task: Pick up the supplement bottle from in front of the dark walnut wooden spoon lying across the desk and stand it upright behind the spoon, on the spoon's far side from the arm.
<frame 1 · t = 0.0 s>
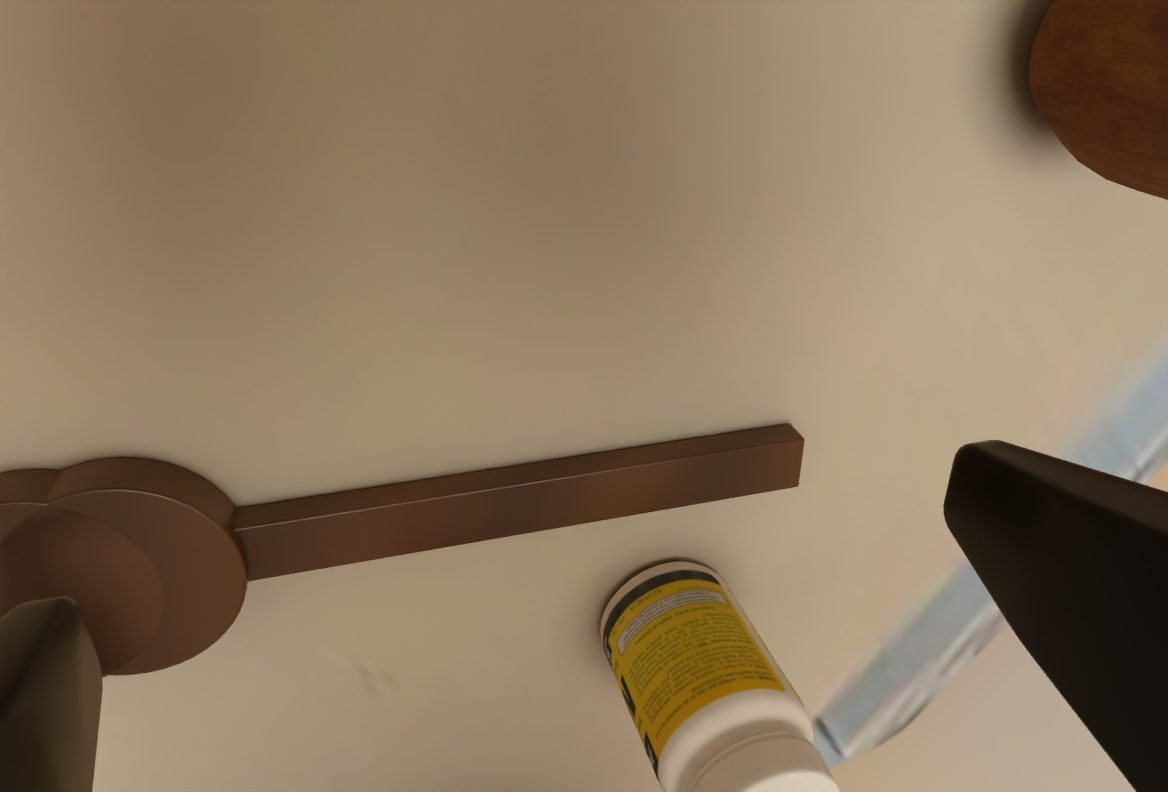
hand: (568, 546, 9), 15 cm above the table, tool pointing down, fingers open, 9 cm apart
wooden figurine: (1087, 37, 25), on the table
wooden spoon: (411, 507, 26), on the table
supplement bottle: (661, 609, 30), on the table
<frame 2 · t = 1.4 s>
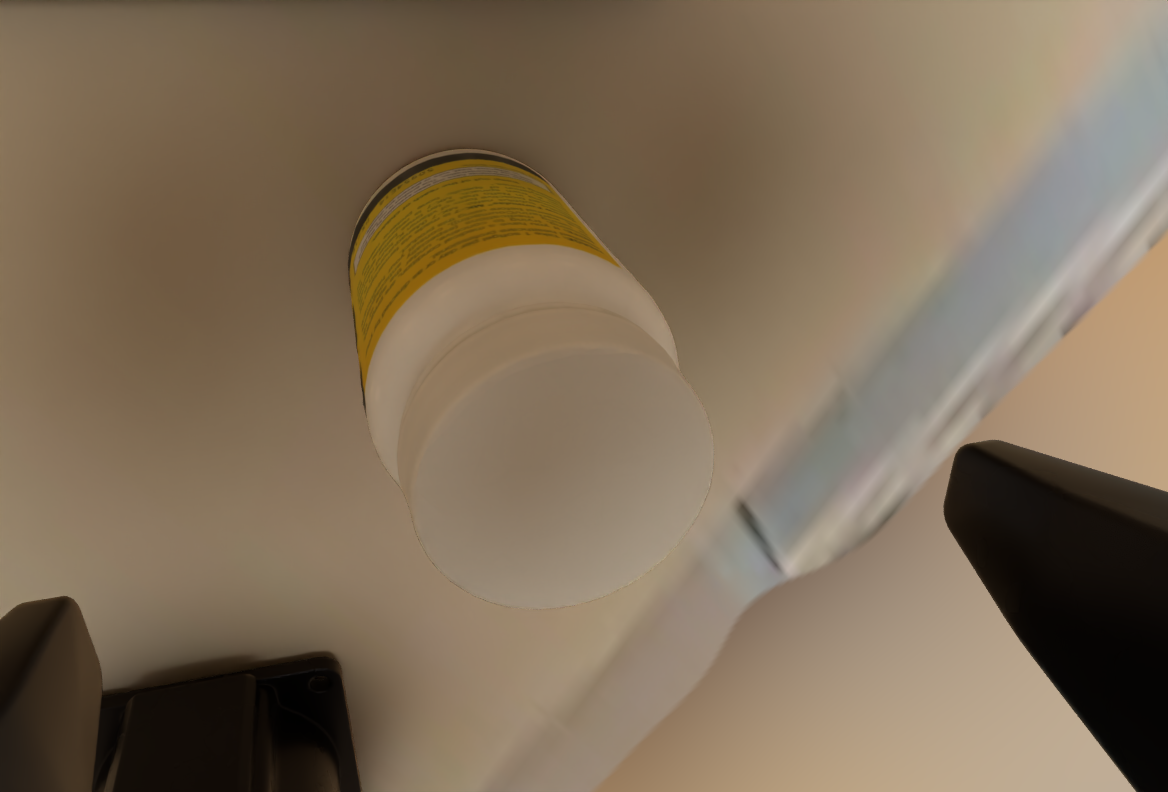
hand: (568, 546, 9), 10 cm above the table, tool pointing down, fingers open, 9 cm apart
supplement bottle: (465, 259, 18), on the table
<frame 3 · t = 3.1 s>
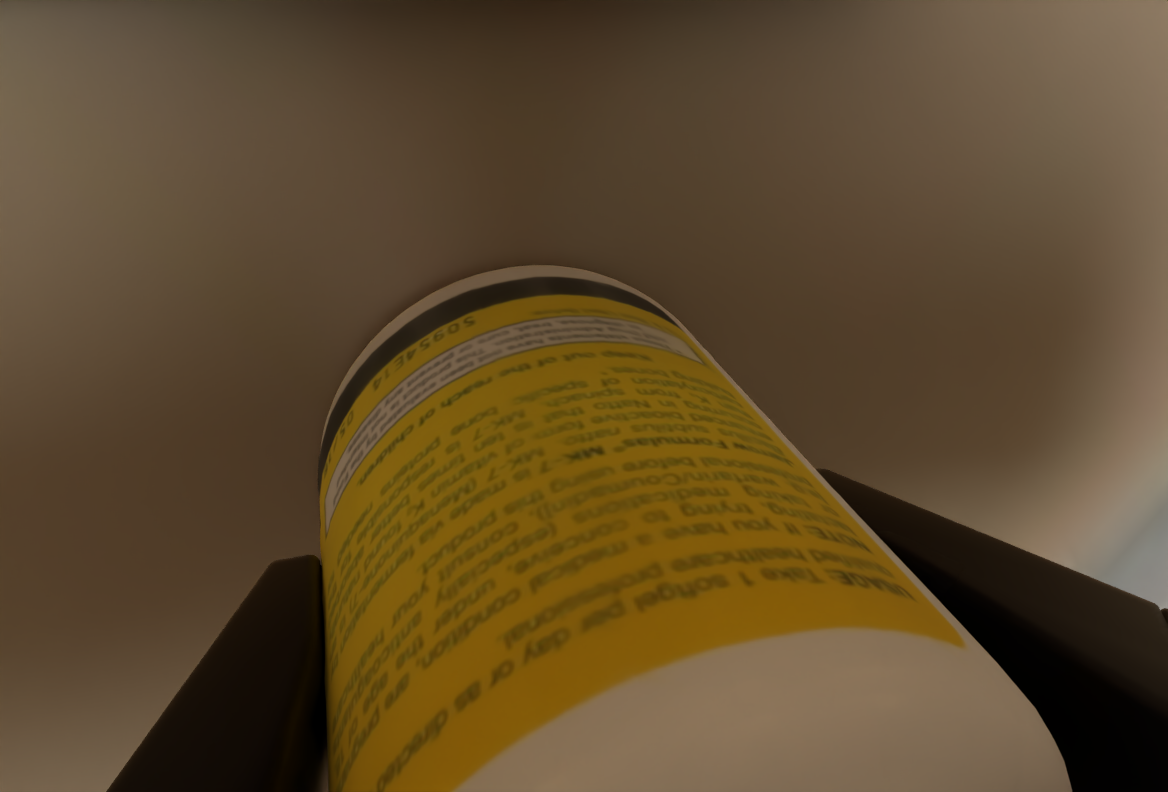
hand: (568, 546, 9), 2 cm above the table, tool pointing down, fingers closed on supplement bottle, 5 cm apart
supplement bottle: (521, 437, 11), on the table, touching gripper
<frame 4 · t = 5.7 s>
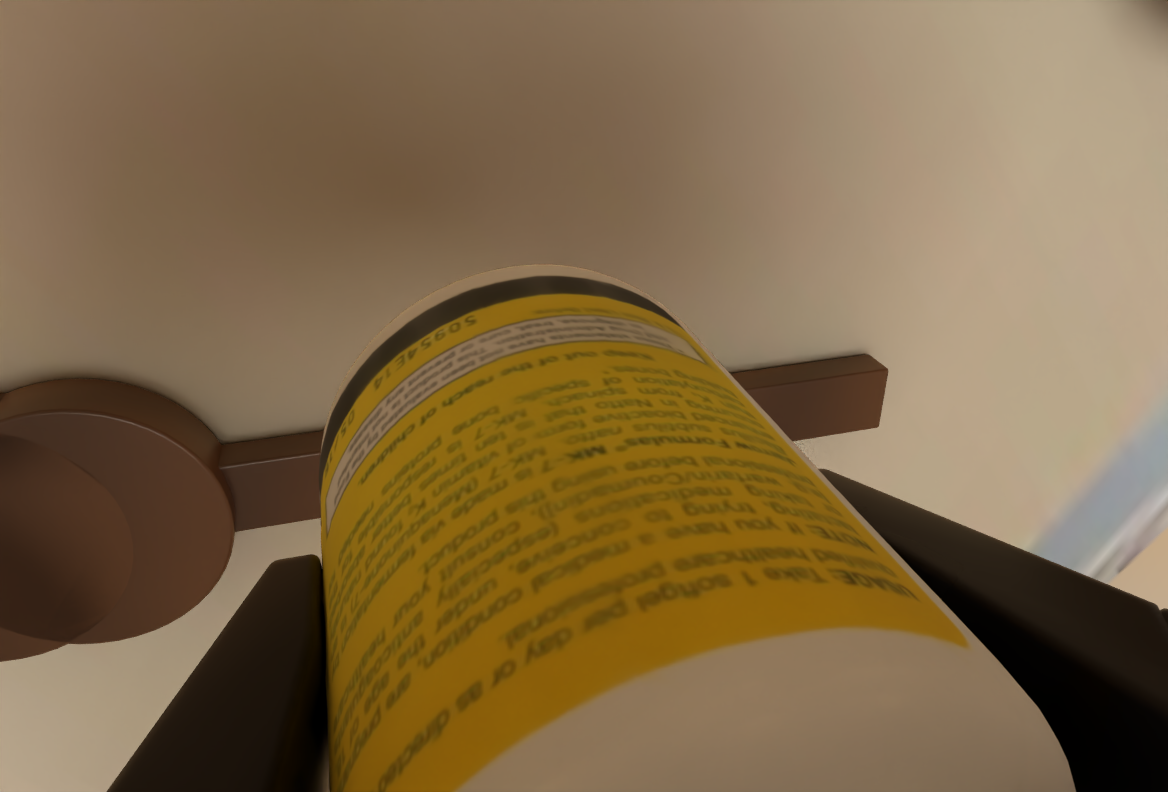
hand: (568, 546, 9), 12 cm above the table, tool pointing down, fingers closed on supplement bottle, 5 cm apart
wooden spoon: (429, 447, 22), on the table
supplement bottle: (522, 436, 11), point 10 cm above the table, touching gripper
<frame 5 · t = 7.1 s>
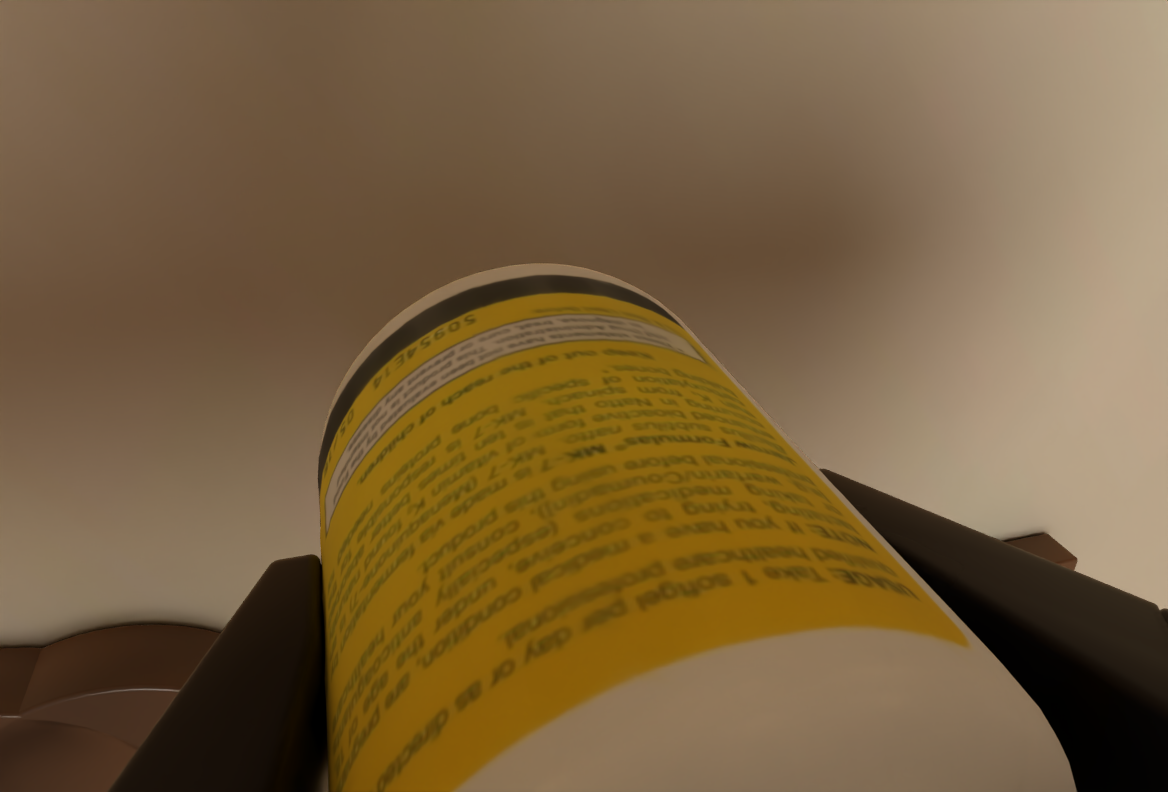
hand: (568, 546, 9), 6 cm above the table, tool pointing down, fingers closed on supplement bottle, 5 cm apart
wooden spoon: (544, 666, 18), on the table
supplement bottle: (521, 436, 11), point 4 cm above the table, touching gripper
when the fingers open (2 cm above the table, at t = 8.5 s): supplement bottle stays where it is, on the table.
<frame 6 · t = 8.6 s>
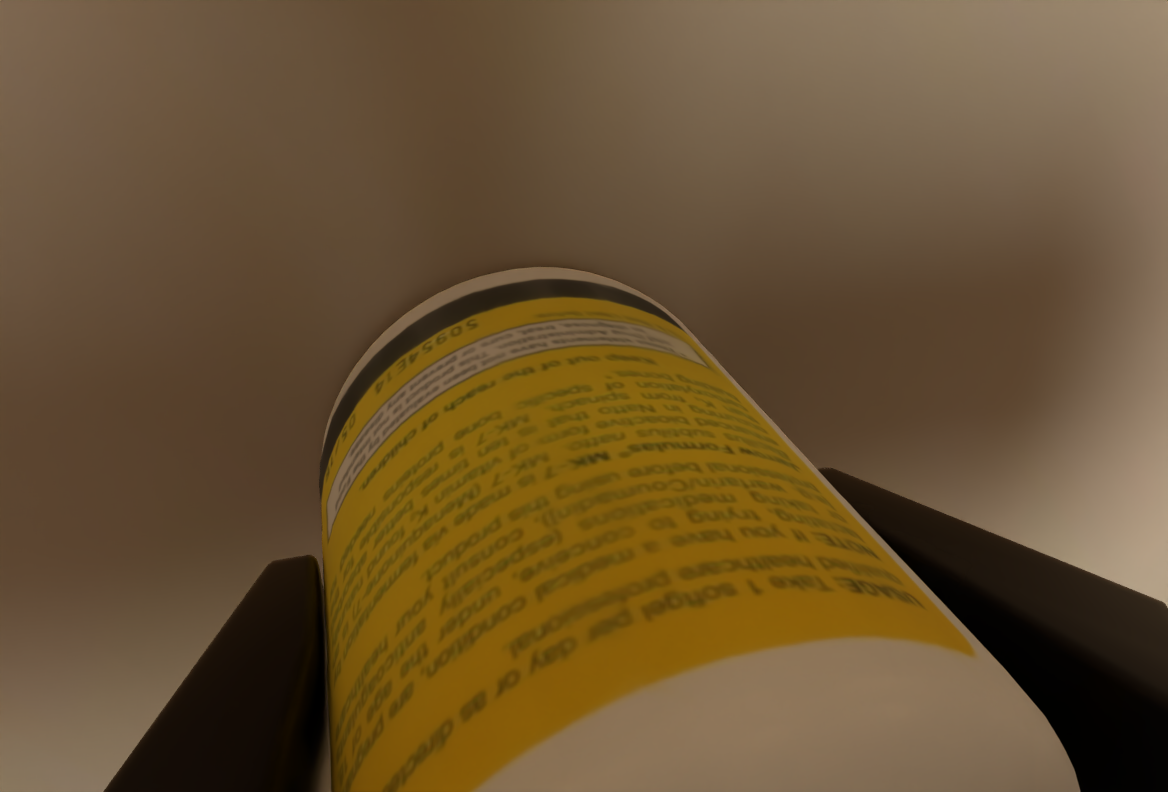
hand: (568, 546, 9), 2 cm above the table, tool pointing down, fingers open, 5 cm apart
supplement bottle: (523, 439, 11), on the table
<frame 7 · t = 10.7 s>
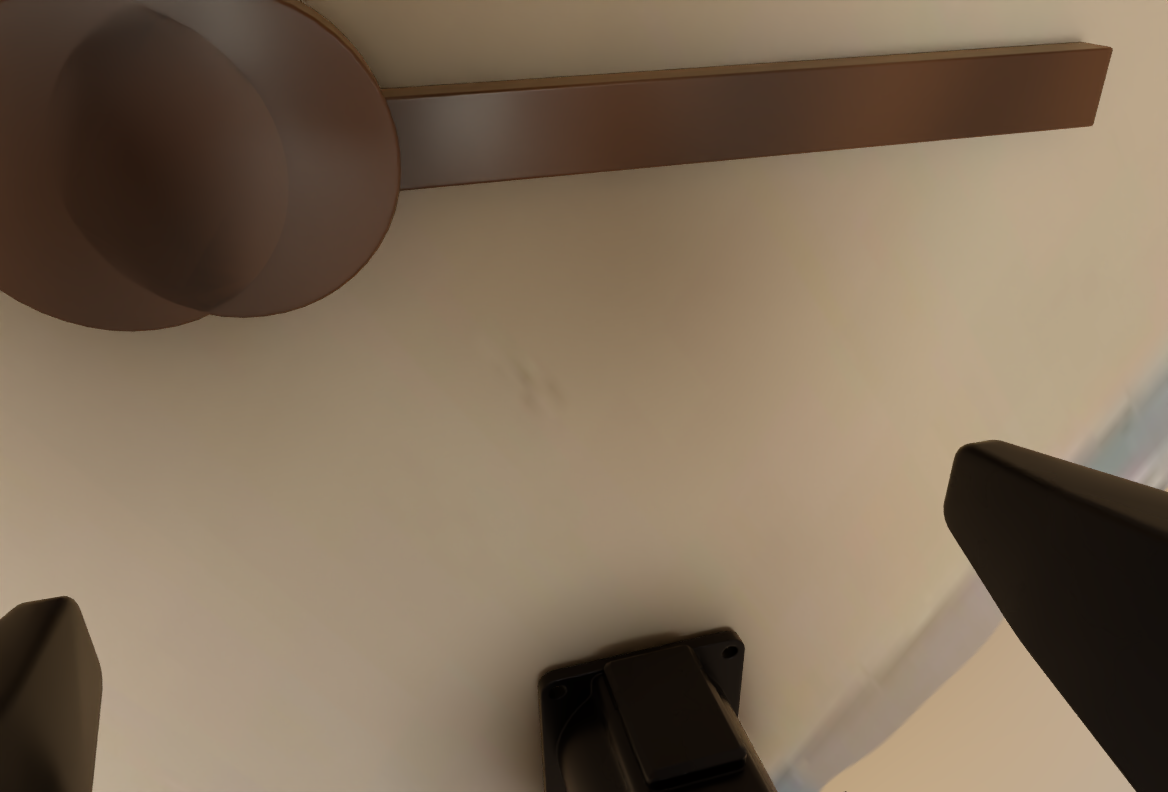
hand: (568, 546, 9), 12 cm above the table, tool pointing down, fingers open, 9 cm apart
wooden spoon: (605, 117, 19), on the table
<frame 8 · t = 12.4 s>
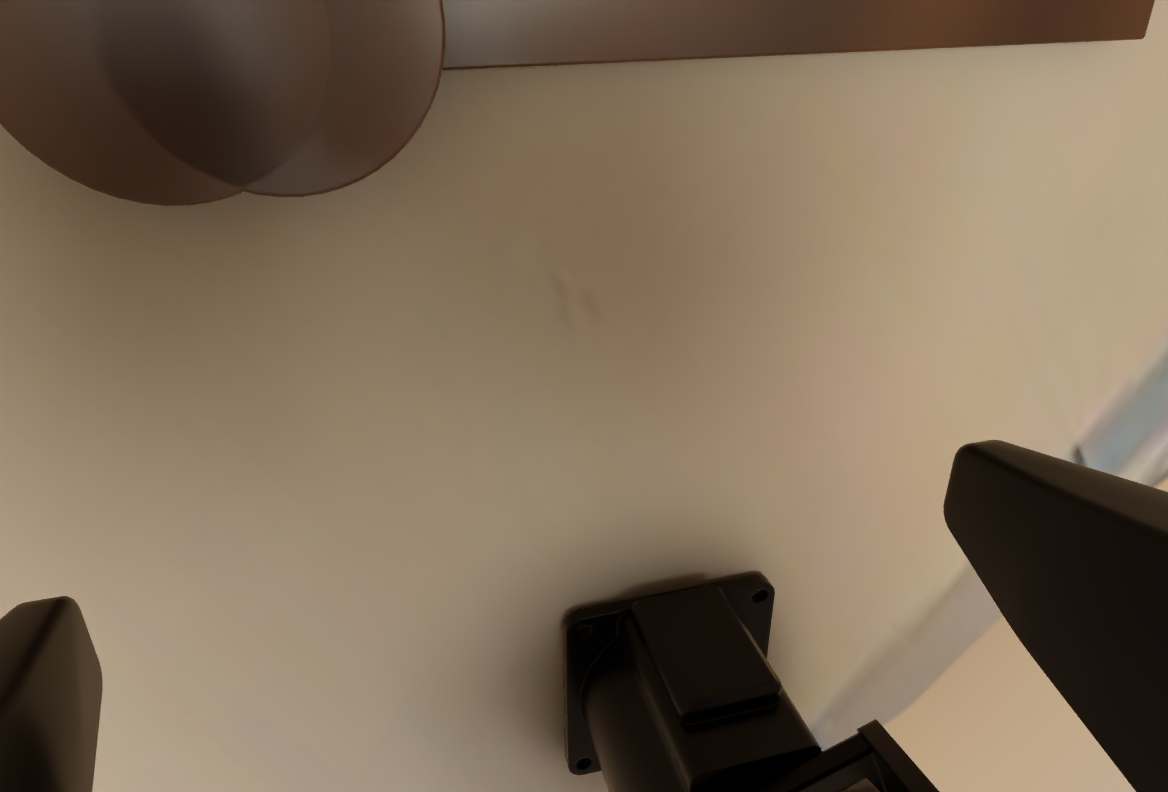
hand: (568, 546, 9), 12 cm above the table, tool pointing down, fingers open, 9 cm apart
wooden spoon: (651, 8, 18), on the table
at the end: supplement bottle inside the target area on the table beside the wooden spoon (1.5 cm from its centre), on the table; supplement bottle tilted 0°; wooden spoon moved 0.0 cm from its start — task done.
